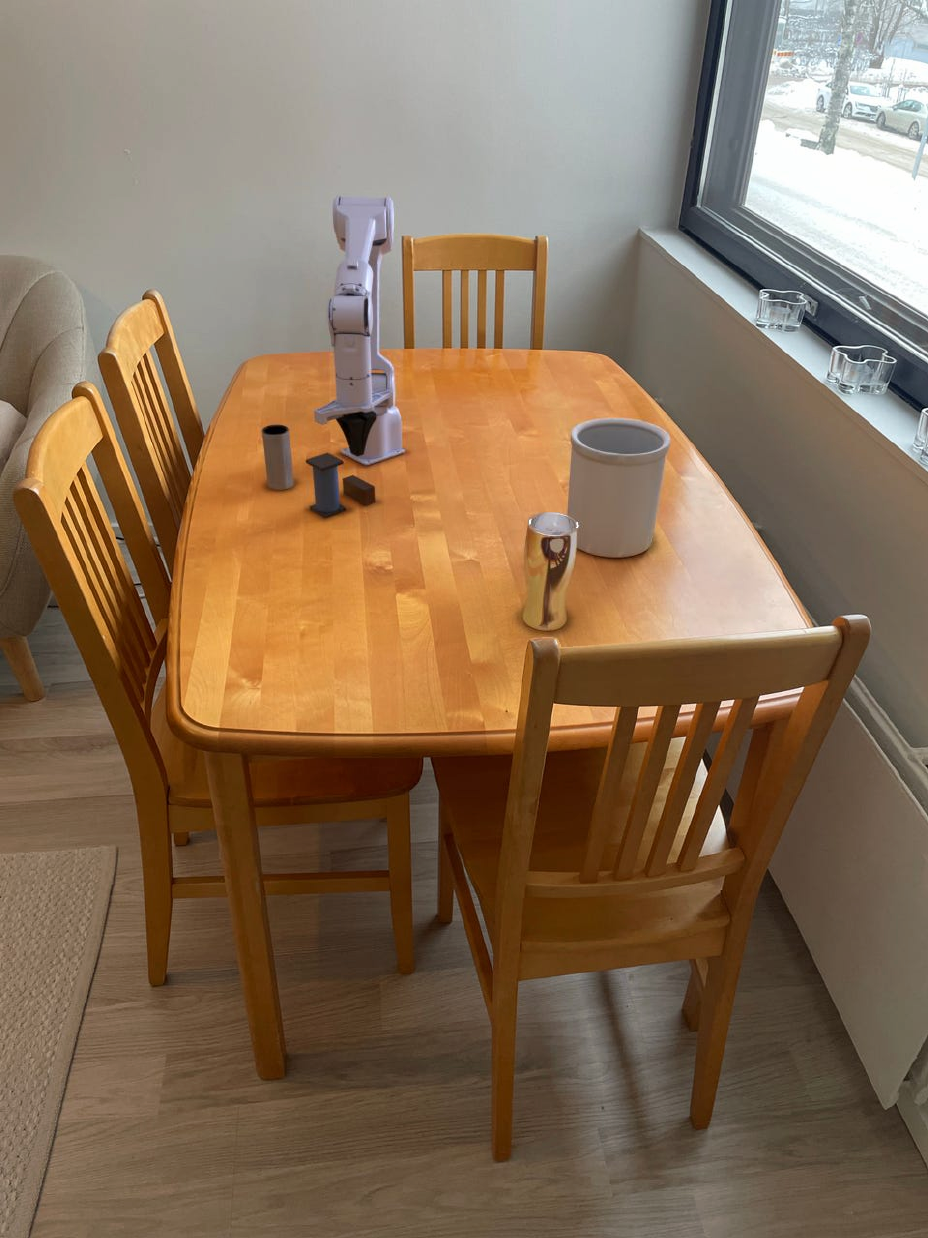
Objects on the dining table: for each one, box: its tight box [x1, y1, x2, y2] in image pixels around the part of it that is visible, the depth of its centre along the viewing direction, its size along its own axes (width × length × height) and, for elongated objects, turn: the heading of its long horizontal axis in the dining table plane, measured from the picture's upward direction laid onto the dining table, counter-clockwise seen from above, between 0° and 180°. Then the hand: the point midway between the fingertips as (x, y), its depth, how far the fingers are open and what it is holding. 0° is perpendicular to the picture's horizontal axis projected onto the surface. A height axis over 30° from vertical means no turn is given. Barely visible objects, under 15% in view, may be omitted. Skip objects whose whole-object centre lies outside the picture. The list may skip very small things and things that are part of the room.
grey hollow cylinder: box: [261, 424, 295, 491], centre depth 157 cm, size 4×4×10 cm
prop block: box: [342, 474, 376, 507], centre depth 155 cm, size 2×6×3 cm, turn 44°
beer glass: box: [522, 511, 578, 632], centre depth 123 cm, size 7×7×15 cm
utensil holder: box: [566, 417, 671, 559], centre depth 142 cm, size 15×15×18 cm
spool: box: [305, 452, 347, 519], centre depth 150 cm, size 10×4×9 cm
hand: (357, 453), depth 152 cm, fingers closed
